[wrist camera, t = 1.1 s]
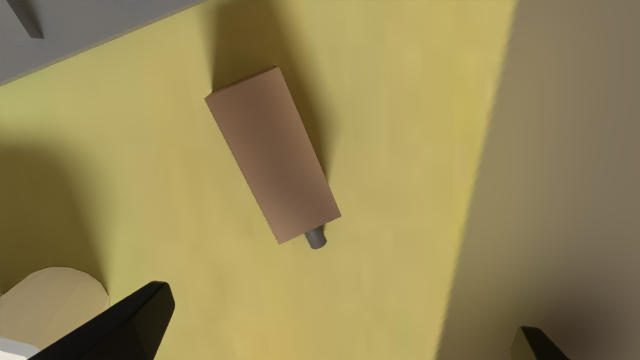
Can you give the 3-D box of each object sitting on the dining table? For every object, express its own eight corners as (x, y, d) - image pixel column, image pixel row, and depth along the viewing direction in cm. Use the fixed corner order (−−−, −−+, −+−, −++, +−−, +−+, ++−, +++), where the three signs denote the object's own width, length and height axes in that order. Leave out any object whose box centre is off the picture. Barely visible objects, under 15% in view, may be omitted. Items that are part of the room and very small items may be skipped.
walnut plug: (291, 251, 25) (298, 283, 22) (212, 92, 21) (204, 98, 17) (342, 228, 26) (358, 256, 22) (274, 65, 21) (278, 66, 18)
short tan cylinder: (-3, 338, 23) (-100, 446, 17) (8, 248, 22) (-96, 328, 15) (110, 351, 25) (62, 452, 19) (128, 268, 24) (82, 348, 17)
